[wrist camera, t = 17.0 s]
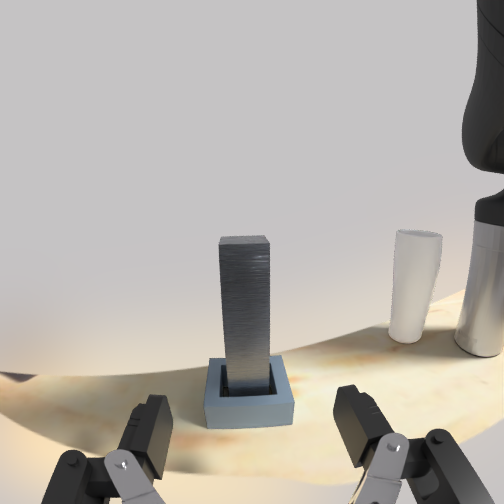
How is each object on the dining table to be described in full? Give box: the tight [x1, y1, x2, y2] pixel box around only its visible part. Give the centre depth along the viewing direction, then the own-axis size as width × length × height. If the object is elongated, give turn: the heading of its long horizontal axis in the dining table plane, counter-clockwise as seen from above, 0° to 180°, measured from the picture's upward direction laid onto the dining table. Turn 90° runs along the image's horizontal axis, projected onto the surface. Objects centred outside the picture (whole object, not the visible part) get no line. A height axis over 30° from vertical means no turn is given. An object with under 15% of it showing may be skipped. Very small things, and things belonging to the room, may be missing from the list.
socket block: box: [203, 355, 295, 429], centre depth 23 cm, size 8×8×3 cm
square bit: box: [219, 235, 270, 397], centre depth 22 cm, size 4×4×16 cm
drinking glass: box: [388, 230, 442, 343], centre depth 32 cm, size 7×7×15 cm
